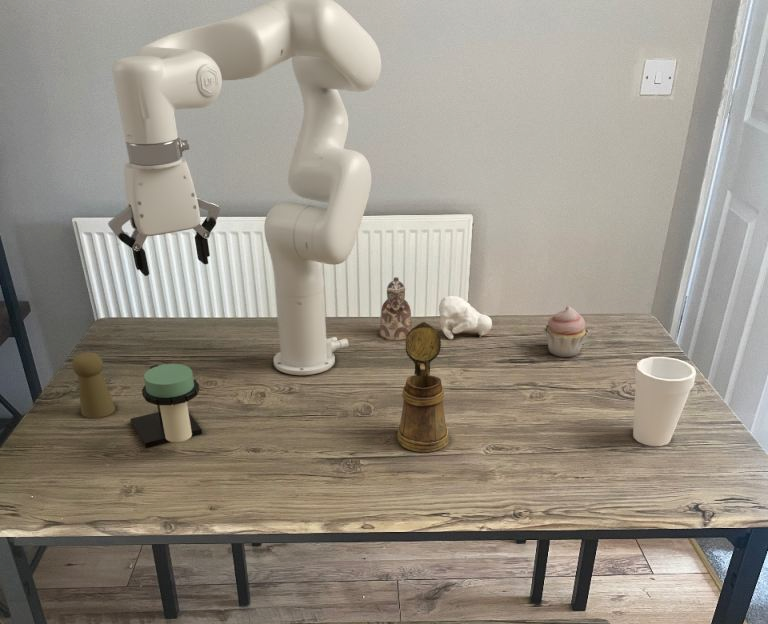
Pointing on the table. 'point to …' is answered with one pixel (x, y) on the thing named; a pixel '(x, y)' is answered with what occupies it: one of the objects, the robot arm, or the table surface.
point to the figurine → (395, 313)
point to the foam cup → (660, 398)
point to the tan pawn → (92, 386)
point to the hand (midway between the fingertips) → (174, 267)
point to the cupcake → (565, 333)
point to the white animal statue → (461, 317)
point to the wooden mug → (423, 395)
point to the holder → (152, 423)
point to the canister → (167, 385)
